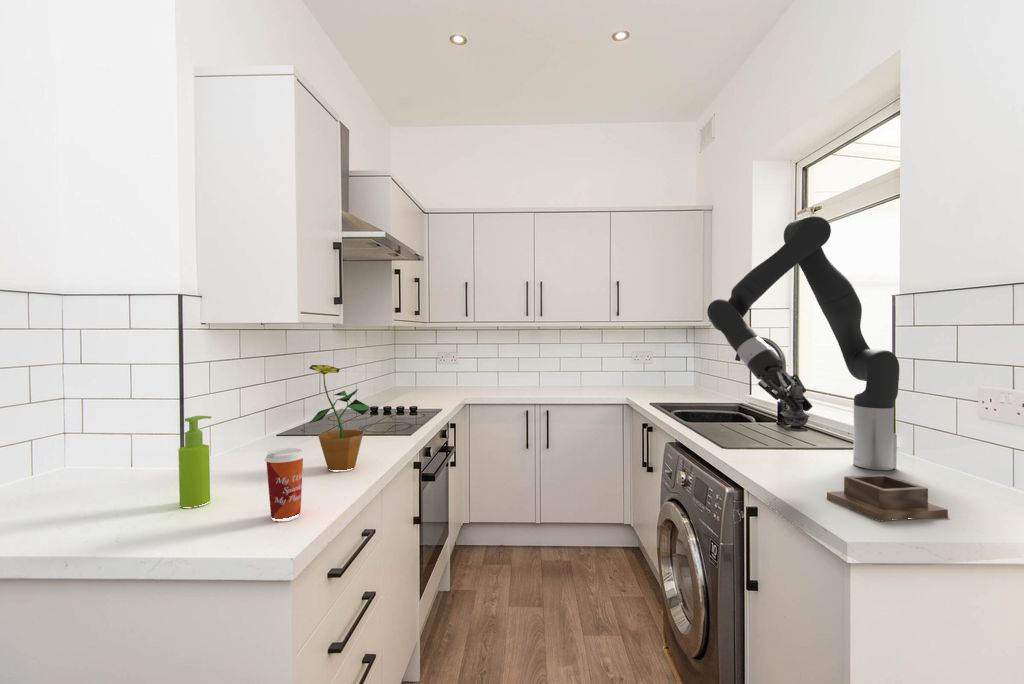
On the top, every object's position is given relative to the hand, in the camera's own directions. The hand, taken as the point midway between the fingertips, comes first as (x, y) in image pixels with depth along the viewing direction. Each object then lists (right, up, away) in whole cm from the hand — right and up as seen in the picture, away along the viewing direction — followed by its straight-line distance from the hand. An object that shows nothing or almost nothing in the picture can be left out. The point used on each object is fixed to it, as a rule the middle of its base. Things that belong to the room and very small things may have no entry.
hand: (803, 409), depth 122 cm
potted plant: (-120, -20, +20) cm, 123 cm away
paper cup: (-119, -21, -16) cm, 122 cm away
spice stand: (+10, -20, -13) cm, 26 cm away
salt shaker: (-1, -5, +2) cm, 6 cm away
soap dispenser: (-144, -21, -8) cm, 145 cm away
